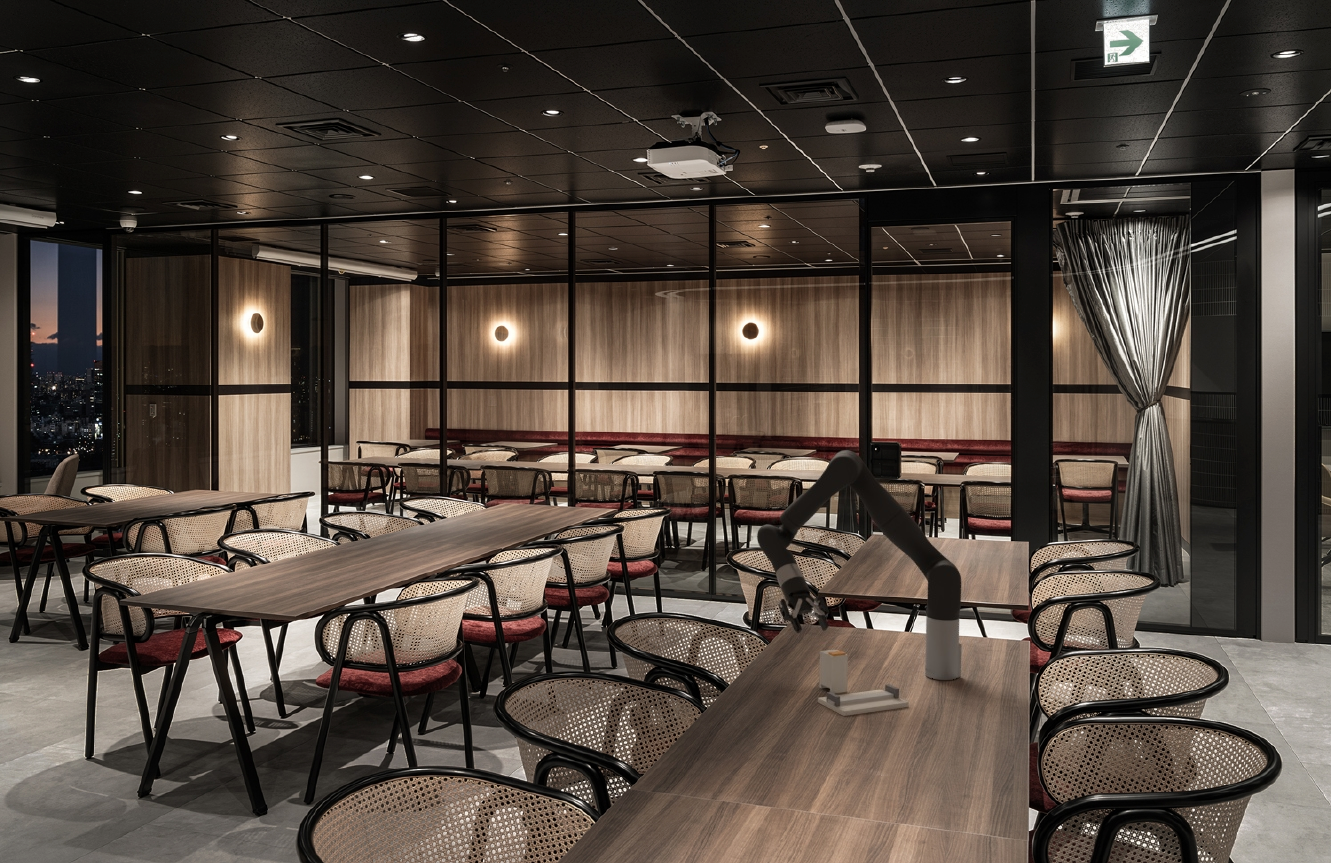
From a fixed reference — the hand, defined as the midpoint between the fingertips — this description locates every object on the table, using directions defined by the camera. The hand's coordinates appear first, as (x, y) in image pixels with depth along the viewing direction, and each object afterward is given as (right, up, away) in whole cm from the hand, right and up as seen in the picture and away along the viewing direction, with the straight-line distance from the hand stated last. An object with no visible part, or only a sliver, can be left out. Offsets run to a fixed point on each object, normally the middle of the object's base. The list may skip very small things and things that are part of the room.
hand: (812, 630), depth 286 cm
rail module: (+4, -14, -9) cm, 18 cm away
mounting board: (+10, -15, -22) cm, 28 cm away
